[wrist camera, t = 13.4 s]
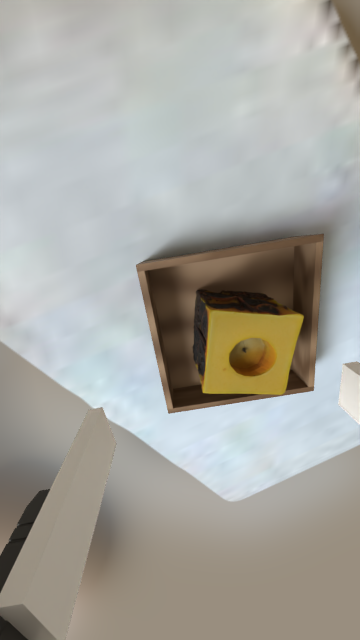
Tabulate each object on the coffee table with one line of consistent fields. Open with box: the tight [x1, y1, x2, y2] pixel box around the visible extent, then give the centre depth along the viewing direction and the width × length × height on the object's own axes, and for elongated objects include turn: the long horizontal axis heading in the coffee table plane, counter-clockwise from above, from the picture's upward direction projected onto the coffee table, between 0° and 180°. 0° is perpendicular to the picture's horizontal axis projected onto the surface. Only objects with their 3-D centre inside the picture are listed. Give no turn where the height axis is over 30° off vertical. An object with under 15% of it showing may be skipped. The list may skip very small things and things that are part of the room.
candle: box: [192, 289, 304, 395], centre depth 27 cm, size 10×10×10 cm
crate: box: [136, 234, 324, 414], centre depth 30 cm, size 22×22×6 cm
